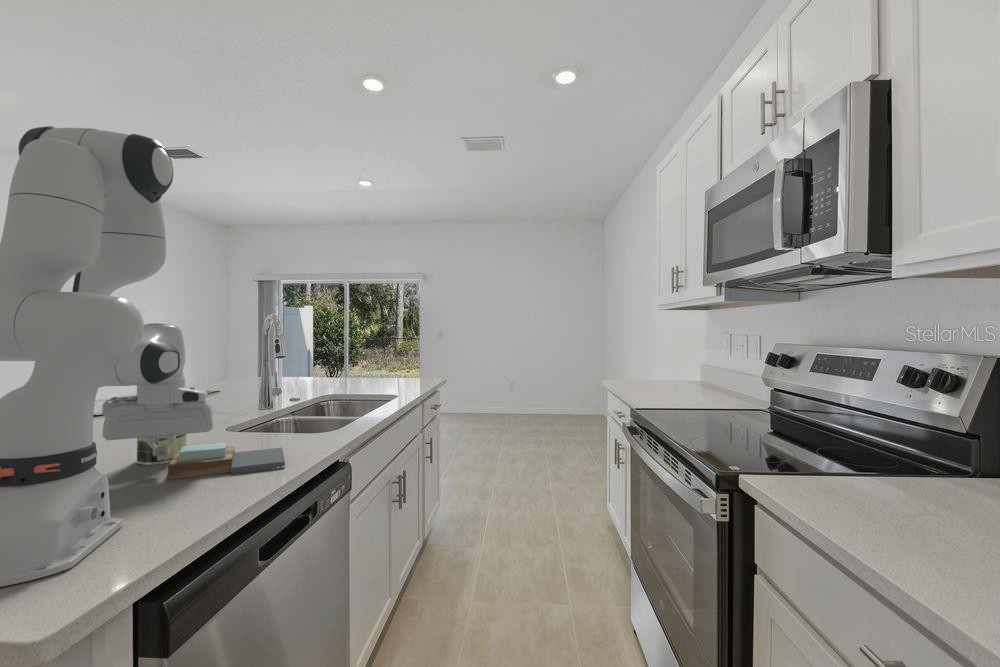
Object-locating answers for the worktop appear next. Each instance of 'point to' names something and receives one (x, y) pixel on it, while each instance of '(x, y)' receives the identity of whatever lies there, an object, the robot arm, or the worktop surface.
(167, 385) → the robot arm
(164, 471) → the worktop surface
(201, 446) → the block
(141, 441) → the coffee can
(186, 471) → the brown square plate
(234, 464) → the grey flat slab
